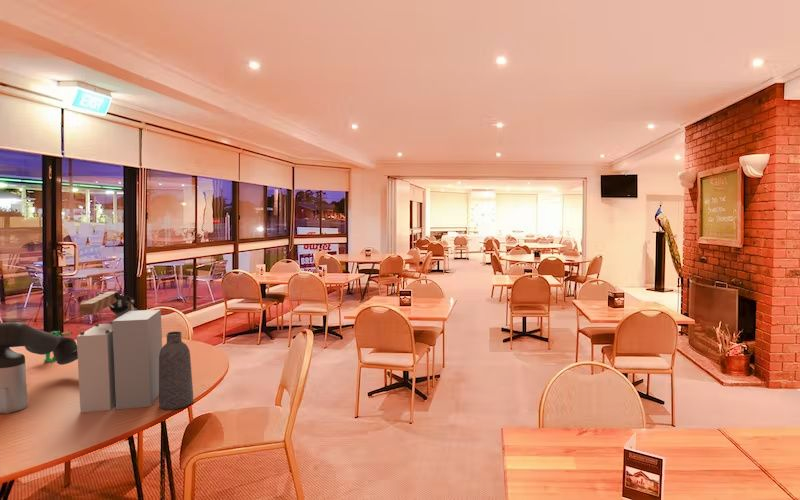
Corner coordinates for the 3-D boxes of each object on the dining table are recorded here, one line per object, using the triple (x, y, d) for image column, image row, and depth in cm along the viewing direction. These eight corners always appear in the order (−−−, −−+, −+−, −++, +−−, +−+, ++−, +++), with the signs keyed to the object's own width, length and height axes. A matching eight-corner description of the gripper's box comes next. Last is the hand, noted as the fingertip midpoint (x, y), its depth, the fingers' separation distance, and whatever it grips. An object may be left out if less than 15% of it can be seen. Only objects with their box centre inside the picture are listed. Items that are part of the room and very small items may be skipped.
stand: (150, 406, 182) (147, 319, 179) (80, 412, 176) (75, 322, 174) (163, 388, 201) (160, 309, 199) (100, 393, 196) (97, 312, 193)
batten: (92, 314, 171) (91, 303, 171) (80, 315, 170) (79, 304, 170) (118, 300, 199) (118, 291, 198) (108, 301, 198) (107, 291, 197)
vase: (177, 396, 192) (174, 328, 190) (200, 400, 187) (198, 330, 185) (151, 407, 181) (148, 335, 179) (175, 412, 176) (173, 338, 174)
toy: (34, 368, 228) (32, 338, 227) (23, 367, 229) (21, 337, 228) (80, 353, 253) (79, 325, 252) (70, 352, 254) (68, 325, 253)
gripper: (105, 300, 208) (91, 286, 193) (141, 299, 212) (129, 285, 197) (103, 317, 205) (88, 304, 190) (139, 315, 209) (127, 302, 194)
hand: (109, 294), depth 193 cm, fingers closed on batten, 4 cm apart
